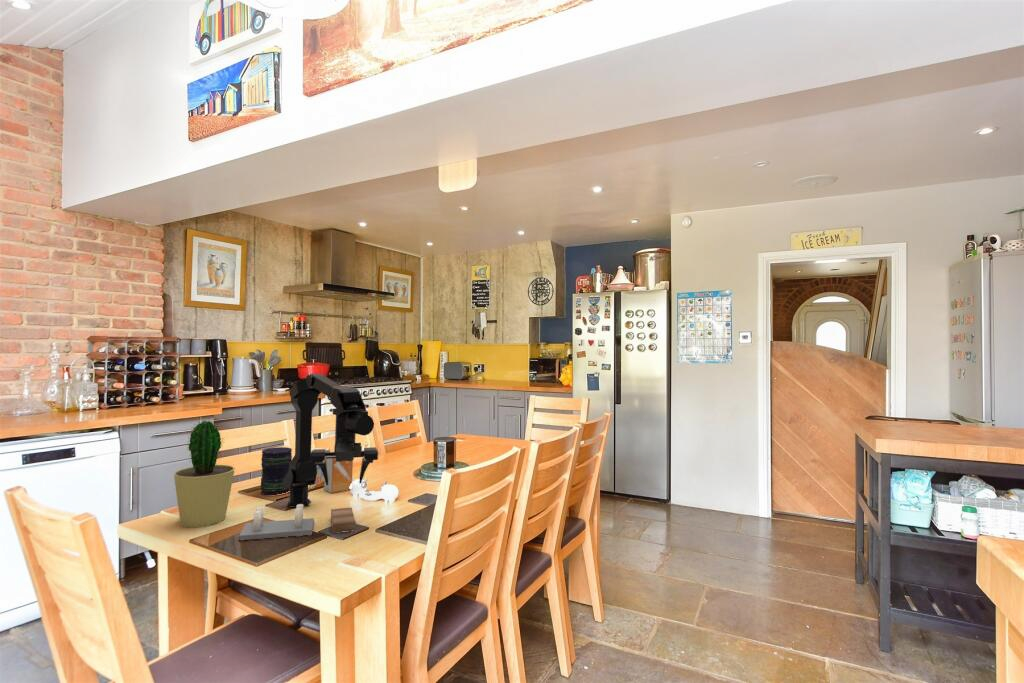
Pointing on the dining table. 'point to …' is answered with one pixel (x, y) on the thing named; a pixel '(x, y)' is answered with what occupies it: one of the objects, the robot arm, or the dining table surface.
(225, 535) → the dining table surface
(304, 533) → the grey base with posts
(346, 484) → the small box
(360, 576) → the dining table surface
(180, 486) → the potted cactus
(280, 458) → the storage jar
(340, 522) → the shelf board
